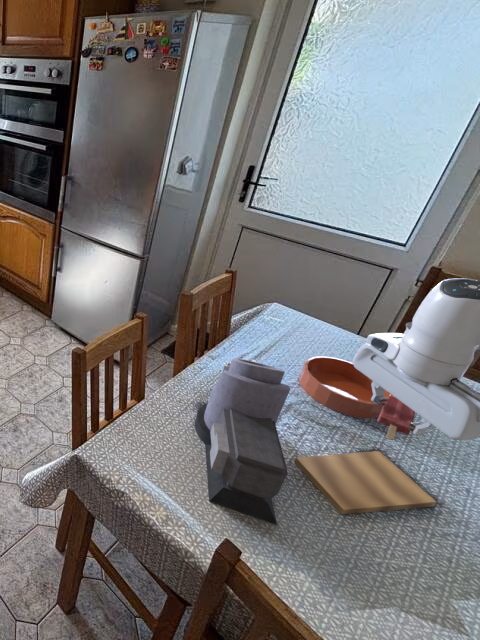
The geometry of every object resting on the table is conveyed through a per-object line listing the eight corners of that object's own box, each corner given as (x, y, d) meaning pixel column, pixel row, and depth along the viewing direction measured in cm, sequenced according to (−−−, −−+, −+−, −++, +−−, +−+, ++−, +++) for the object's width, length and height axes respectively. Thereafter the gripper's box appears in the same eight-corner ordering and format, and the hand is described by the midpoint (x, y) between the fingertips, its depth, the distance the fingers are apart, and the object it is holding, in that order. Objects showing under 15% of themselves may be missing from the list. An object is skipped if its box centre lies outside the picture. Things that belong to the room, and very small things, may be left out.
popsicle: (375, 428, 78) (388, 391, 87) (372, 435, 79) (384, 398, 88) (408, 443, 75) (418, 403, 84) (404, 450, 76) (414, 410, 85)
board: (376, 455, 94) (379, 450, 93) (433, 506, 83) (437, 502, 82) (293, 461, 93) (295, 457, 92) (340, 514, 82) (343, 509, 81)
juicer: (193, 399, 110) (215, 323, 99) (264, 418, 104) (296, 340, 93) (197, 497, 85) (228, 410, 75) (290, 530, 79) (337, 440, 69)
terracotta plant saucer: (341, 368, 120) (348, 354, 118) (404, 416, 104) (413, 401, 102) (283, 371, 119) (288, 358, 117) (337, 420, 103) (345, 406, 101)
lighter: (220, 377, 117) (227, 355, 114) (220, 373, 119) (228, 351, 115) (249, 386, 114) (258, 363, 110) (249, 382, 115) (258, 360, 112)
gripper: (516, 403, 66) (471, 462, 72) (389, 328, 84) (362, 380, 90) (479, 405, 66) (438, 464, 72) (360, 330, 84) (335, 381, 90)
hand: (395, 416), depth 81 cm, fingers closed on popsicle, 6 cm apart
